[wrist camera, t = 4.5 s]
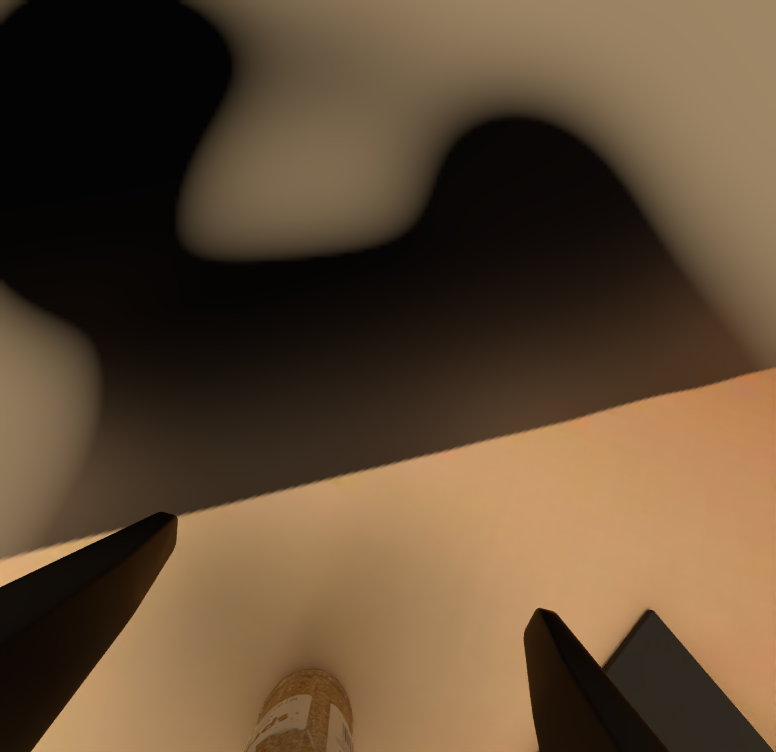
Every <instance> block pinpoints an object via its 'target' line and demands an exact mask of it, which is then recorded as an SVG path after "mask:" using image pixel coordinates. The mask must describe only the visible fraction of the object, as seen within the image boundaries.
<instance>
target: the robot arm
mask: <svg viewBox="0 0 776 752" xmlns="http://www.w3.org/2000/svg"><path fill="white" fill-rule="evenodd" d="M177 526H178V518H177V516H175V515H172V514H168V513H165V512H158V513H156V514H154V515H151V516H149V517H147V518H145V519H143V520H141V521H139V522H137V523H135V524H133V525H130V526H128V527H126V528H124V529H122V530H120V531H118V532H116V533H114V534H111V535H109V536H107V537H105V538H103V539H101V540H99V541H97V542H95V543H93V544H90V545H88V546H86V547H84V548H82V549H80V550H78V551H76V552H74V553H71V554H69V555H67V556H65V557H63V558H61V559H59V560H57V561H55V562H53V563H50V564H48V565H46V566H44V567H42V568H40V569H38V570H36V571H34V572H31V573H29V574H27V575H25V576H23V577H21V578H19V579H17V580H15V581H12V582H10V583H8V584H6V585H4V586H2V587H0V752H31V751H32V749H33V748H34V747H35V745H36V744H37V743H38V742H39V740H40V739H41V738H42V736H43V735H44V734H45V732H46V731H47V730H48V728H49V727H50V726H51V724H52V723H53V722H54V720H55V719H56V718H57V716H58V715H59V714H60V712H61V711H62V710H63V708H64V707H65V706H66V704H67V703H68V702H69V700H70V699H71V698H72V696H73V695H74V694H75V692H76V691H77V690H78V688H79V687H80V686H81V684H82V683H83V682H84V680H85V679H86V678H87V676H88V675H89V674H90V672H91V671H92V670H93V668H94V667H95V666H96V664H97V663H98V662H99V660H100V659H101V658H102V656H103V655H104V654H105V652H106V651H107V650H108V648H109V647H110V646H111V644H112V643H113V642H114V640H115V639H116V638H117V636H118V635H119V634H120V632H121V631H122V630H123V628H124V627H125V626H126V624H127V623H128V622H129V620H130V619H131V617H132V616H133V614H134V613H135V611H136V610H137V608H138V607H139V605H140V604H141V602H142V600H143V599H144V597H145V595H146V594H147V592H148V591H149V589H150V587H151V586H152V584H153V583H154V581H155V579H156V578H157V576H158V575H159V573H160V571H161V570H162V568H163V566H164V565H165V563H166V562H167V560H168V558H169V557H170V555H171V554H172V552H173V550H174V548H175V545H176V541H177ZM524 647H525V656H526V664H527V673H528V681H529V690H530V698H531V706H532V713H533V720H534V725H535V730H536V735H537V740H538V745H539V750H540V752H670V751H669V750H668V748H667V747H666V746H665V745H664V743H663V742H662V741H661V740H660V739H659V737H658V736H657V735H656V734H655V733H654V731H653V730H652V729H651V728H650V726H649V725H648V724H647V723H646V722H645V720H644V719H643V718H642V717H641V715H640V714H639V713H638V712H637V711H636V709H635V708H634V707H633V706H632V705H631V703H630V702H629V701H628V700H627V698H626V697H625V696H624V695H623V694H622V692H621V691H620V690H619V689H618V688H617V686H616V685H615V684H614V683H613V681H612V680H611V679H610V678H609V677H608V675H607V674H606V673H605V672H604V670H603V669H602V668H601V667H600V666H599V664H598V663H597V662H596V661H595V660H594V658H593V657H592V656H591V655H590V653H589V652H588V651H587V650H586V649H585V647H584V646H583V645H582V644H581V643H580V641H579V640H578V639H577V638H576V636H575V635H574V634H573V633H572V632H571V630H570V629H569V628H568V627H567V626H566V624H565V623H564V622H563V621H562V619H561V618H560V617H559V616H558V615H557V614H556V613H555V612H553V611H550V610H546V609H543V608H538V609H536V610H535V612H534V614H533V615H532V617H531V619H530V621H529V623H528V625H527V627H526V629H525V632H524Z"/></svg>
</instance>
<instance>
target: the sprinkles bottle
mask: <svg viewBox="0 0 776 752" xmlns="http://www.w3.org/2000/svg"><path fill="white" fill-rule="evenodd" d="M352 733H353V715H352V709H351V706H350V702H349V699H348V696H347V694H346V692H345V691H344V689H343V688H342V686H341V685H340V683H339V682H338V681H337V680H336V679H334V678H333V677H332V676H331V675H329V674H328V673H327V672H325V671H322V670H316V669H308V670H304V671H299V672H296V673H293V674H291V675H290V676H288V677H287V678H285V679H284V680H283V681H282V682H280V683H279V684H278V685H277V686H276V687H275V689H274V690H273V691H272V692H271V694H270V695H269V696H268V698H267V699H266V701H265V703H264V705H263V708H262V710H261V712H260V714H259V717H258V722H257V726H256V728H255V730H254V732H253V733H252V735H251V737H250V739H249V741H248V743H247V746H246V748H245V750H244V752H354V747H353V740H352Z"/></svg>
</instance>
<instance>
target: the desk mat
mask: <svg viewBox="0 0 776 752" xmlns="http://www.w3.org/2000/svg"><path fill="white" fill-rule="evenodd" d="M603 670H604V672H605V673H606V674H607V675H608V677H609V678H610V679H611V680H612V681H613V683H614V684H615V685H616V686H617V688H618V689H619V690H620V691H621V692H622V694H623V695H624V696H625V697H626V698H627V700H628V701H629V702H630V703H631V705H632V706H633V707H634V708H635V709H636V711H637V712H638V713H639V714H640V715H641V717H642V718H643V719H644V720H645V722H646V723H647V724H648V725H649V726H650V728H651V729H652V730H653V731H654V733H655V734H656V735H657V736H658V737H659V739H660V740H661V741H662V742H663V743H664V745H665V746H666V747H667V748H668V750H669V751H670V752H774V751H773V750H772V749H771V747H770V746H769V745H768V744H767V743H766V742H765V740H764V739H763V738H762V737H761V736H760V735H759V733H758V732H757V731H756V730H755V729H754V728H753V726H752V725H751V724H750V723H749V722H748V721H747V719H746V718H745V717H744V716H743V715H742V714H741V712H740V711H739V710H738V709H737V708H736V707H735V705H734V704H733V703H732V702H731V701H730V700H729V698H728V697H727V696H726V695H725V694H724V693H723V691H722V690H721V689H720V688H719V687H718V686H717V684H716V683H715V682H714V681H713V680H712V679H711V677H710V676H709V675H708V674H707V673H706V672H705V670H704V669H703V668H702V667H701V666H700V665H699V663H698V662H697V661H696V660H695V659H694V657H693V656H692V655H691V654H690V653H689V652H688V650H687V649H686V648H685V647H684V646H683V645H682V643H681V642H680V641H679V640H678V639H677V638H676V636H675V635H674V634H673V633H672V632H671V631H670V629H669V628H668V627H667V626H666V625H665V624H664V622H663V621H662V620H661V619H660V618H659V617H658V615H657V614H656V613H655V612H654V611H653V610H648V611H647V612H646V613H645V615H644V616H643V617H642V619H641V620H640V621H639V622H638V624H637V625H636V626H635V628H634V629H633V630H632V632H631V633H630V634H629V636H628V637H627V638H626V639H625V641H624V642H623V643H622V645H621V646H620V647H619V649H618V650H617V651H616V653H615V654H614V655H613V656H612V658H611V659H610V660H609V662H608V663H607V664H606V666H605V667H604V668H603Z"/></svg>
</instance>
